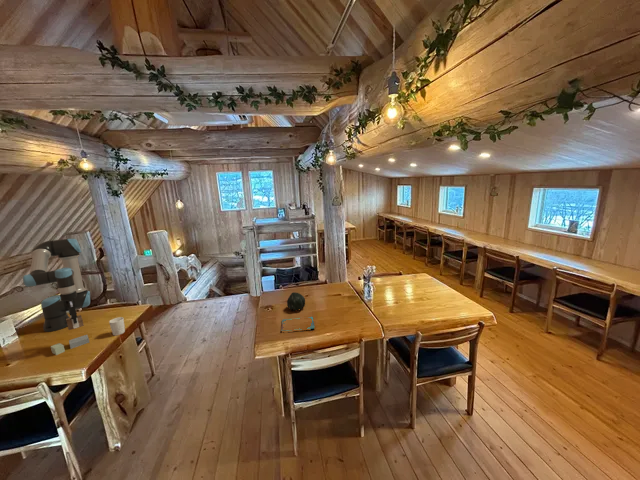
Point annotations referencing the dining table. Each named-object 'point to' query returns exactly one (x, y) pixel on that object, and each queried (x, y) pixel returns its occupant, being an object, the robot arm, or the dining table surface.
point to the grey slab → (78, 341)
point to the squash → (296, 301)
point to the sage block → (57, 349)
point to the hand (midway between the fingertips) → (75, 326)
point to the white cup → (117, 325)
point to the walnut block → (70, 325)
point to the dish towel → (299, 328)
